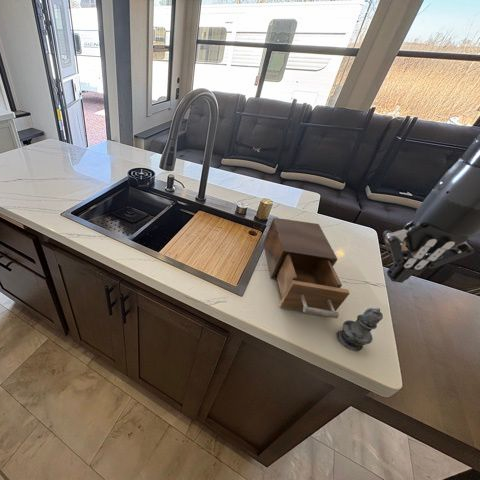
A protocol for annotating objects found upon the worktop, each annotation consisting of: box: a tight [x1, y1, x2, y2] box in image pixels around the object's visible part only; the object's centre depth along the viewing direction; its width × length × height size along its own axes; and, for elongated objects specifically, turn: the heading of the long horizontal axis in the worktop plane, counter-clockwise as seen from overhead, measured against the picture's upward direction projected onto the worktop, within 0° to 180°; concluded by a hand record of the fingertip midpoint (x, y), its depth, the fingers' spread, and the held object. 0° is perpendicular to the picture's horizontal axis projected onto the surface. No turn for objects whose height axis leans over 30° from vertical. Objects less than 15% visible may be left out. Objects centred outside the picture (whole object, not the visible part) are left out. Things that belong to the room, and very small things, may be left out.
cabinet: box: [262, 217, 338, 280], centre depth 76 cm, size 17×14×11 cm
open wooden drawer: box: [276, 253, 351, 319], centre depth 65 cm, size 20×12×9 cm, turn 169°
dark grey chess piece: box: [336, 307, 384, 352], centre depth 55 cm, size 6×6×12 cm
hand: (394, 278), depth 47 cm, fingers closed
